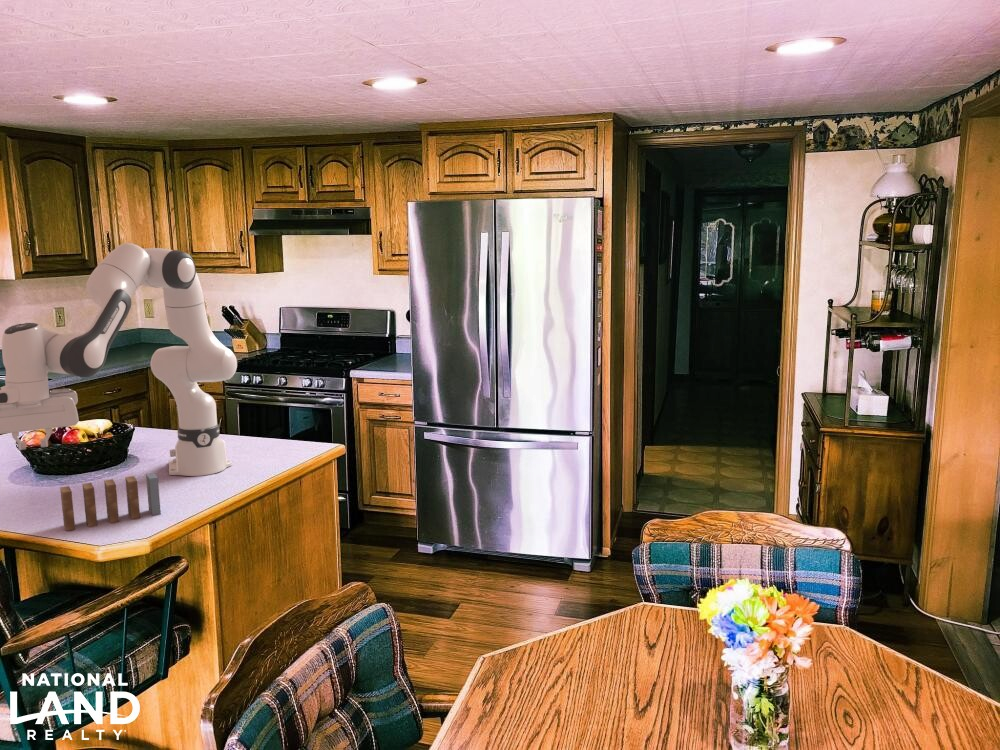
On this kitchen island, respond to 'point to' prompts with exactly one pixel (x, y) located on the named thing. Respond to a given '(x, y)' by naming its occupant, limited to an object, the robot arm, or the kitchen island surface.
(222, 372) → the robot arm
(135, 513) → the domino
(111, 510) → the domino
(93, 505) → the domino
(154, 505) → the slate domino
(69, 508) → the domino
